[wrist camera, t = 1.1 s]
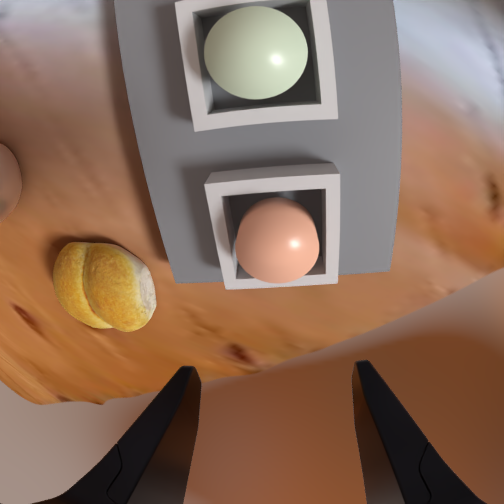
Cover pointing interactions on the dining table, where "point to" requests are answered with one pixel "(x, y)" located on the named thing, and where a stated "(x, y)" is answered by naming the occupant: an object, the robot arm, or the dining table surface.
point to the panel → (268, 135)
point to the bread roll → (104, 286)
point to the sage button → (255, 52)
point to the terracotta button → (277, 240)
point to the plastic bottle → (9, 182)
